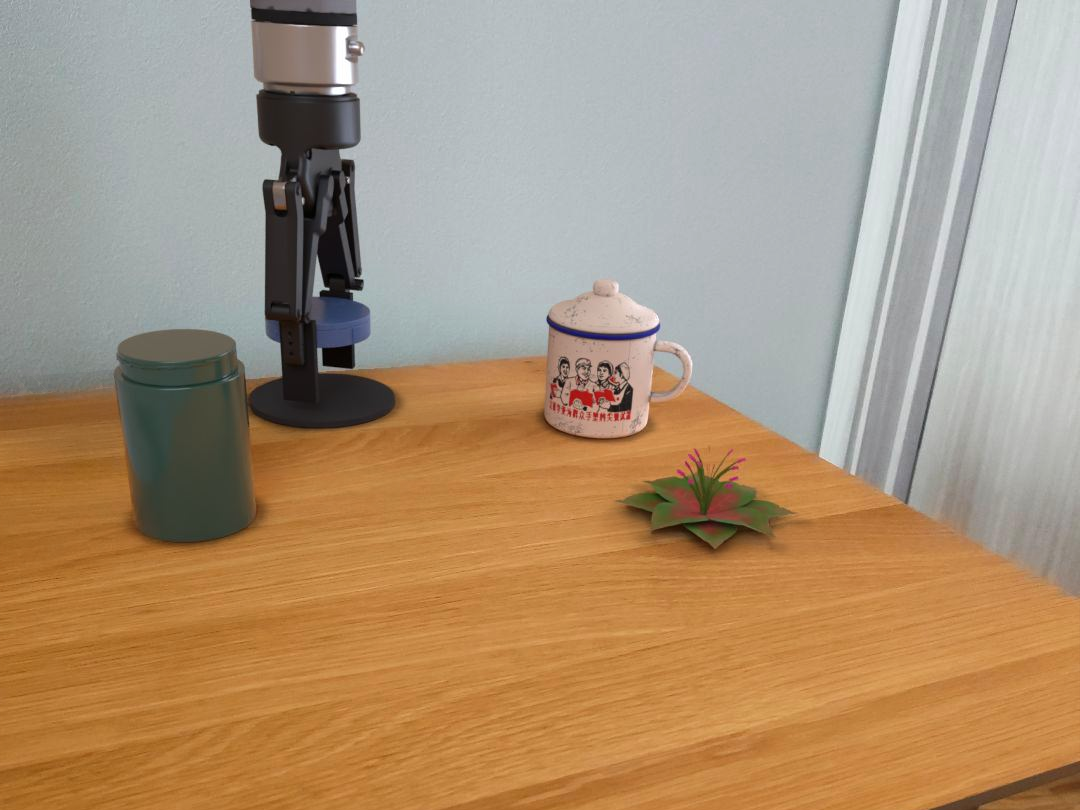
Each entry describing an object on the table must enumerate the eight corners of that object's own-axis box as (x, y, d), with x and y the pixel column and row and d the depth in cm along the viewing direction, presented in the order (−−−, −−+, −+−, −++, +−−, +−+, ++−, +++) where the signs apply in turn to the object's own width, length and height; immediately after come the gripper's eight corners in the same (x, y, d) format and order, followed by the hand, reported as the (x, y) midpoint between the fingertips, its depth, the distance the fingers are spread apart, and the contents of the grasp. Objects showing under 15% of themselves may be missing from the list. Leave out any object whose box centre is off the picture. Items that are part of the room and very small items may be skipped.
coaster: (219, 401, 88) (218, 394, 88) (330, 370, 97) (330, 364, 96) (314, 440, 82) (313, 432, 81) (424, 403, 90) (424, 396, 90)
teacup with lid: (529, 432, 85) (536, 288, 80) (553, 397, 93) (561, 263, 88) (678, 452, 83) (695, 305, 78) (690, 414, 91) (706, 278, 86)
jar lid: (392, 335, 87) (392, 312, 86) (312, 355, 81) (311, 331, 80) (324, 313, 92) (323, 291, 91) (244, 330, 86) (242, 307, 85)
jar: (110, 516, 68) (84, 342, 63) (210, 482, 74) (194, 320, 69) (179, 554, 64) (157, 372, 59) (280, 516, 70) (268, 346, 64)
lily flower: (581, 508, 73) (585, 446, 71) (694, 467, 80) (701, 410, 78) (717, 575, 65) (726, 508, 63) (828, 523, 73) (839, 462, 71)
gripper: (305, 103, 68) (320, 431, 79) (397, 82, 87) (399, 350, 97) (195, 95, 69) (224, 421, 80) (309, 76, 88) (321, 342, 98)
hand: (321, 382), depth 88 cm, fingers closed on jar lid, 8 cm apart
